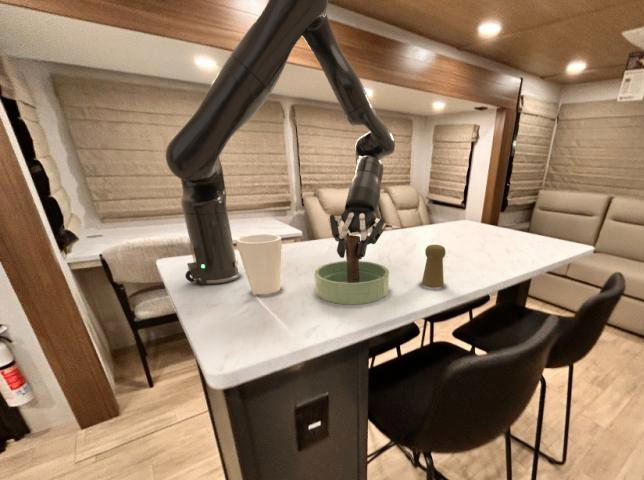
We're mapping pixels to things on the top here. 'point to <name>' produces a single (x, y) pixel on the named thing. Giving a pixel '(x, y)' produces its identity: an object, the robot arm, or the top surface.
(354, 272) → the rod
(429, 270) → the cork
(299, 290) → the top surface
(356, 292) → the bowl
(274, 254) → the foam cup
